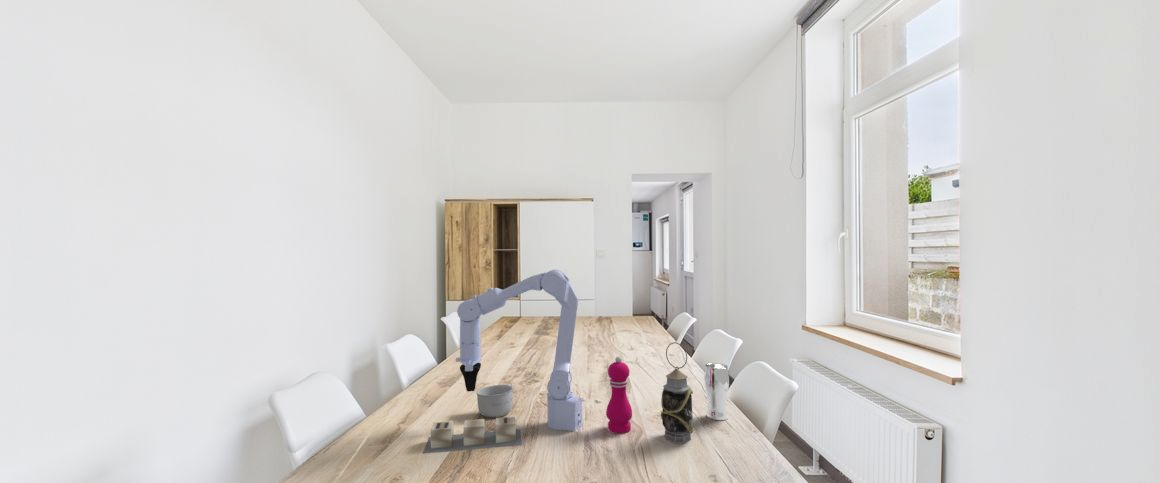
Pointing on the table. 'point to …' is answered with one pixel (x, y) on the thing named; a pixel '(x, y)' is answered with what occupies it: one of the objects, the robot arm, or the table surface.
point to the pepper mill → (619, 398)
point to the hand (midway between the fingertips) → (470, 390)
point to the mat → (459, 445)
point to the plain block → (474, 432)
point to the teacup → (495, 400)
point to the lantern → (677, 406)
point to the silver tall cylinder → (716, 390)
